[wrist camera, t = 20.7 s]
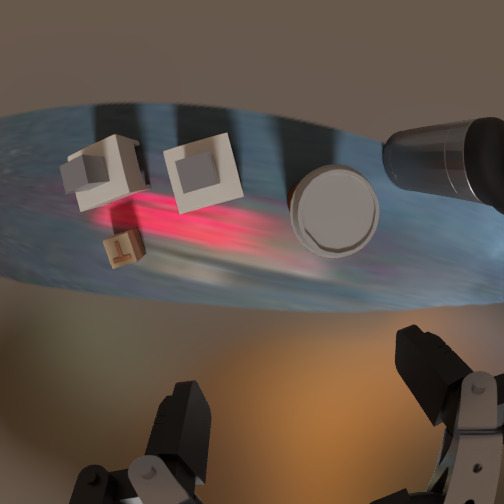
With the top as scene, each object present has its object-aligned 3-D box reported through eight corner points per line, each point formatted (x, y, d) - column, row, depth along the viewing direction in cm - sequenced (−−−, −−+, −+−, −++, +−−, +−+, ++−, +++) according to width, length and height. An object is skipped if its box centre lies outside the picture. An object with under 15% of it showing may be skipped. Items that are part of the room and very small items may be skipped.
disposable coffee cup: (268, 175, 36) (282, 174, 24) (335, 161, 36) (374, 157, 24) (283, 243, 39) (303, 272, 27) (347, 227, 38) (387, 248, 27)
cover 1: (138, 141, 34) (94, 128, 21) (150, 188, 36) (110, 196, 23) (96, 158, 34) (43, 156, 21) (108, 204, 36) (57, 218, 23)
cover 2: (229, 141, 35) (225, 123, 22) (242, 192, 36) (245, 200, 24) (178, 156, 35) (148, 147, 22) (191, 206, 37) (168, 221, 24)
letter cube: (137, 226, 37) (126, 232, 33) (146, 253, 38) (136, 261, 34) (114, 234, 37) (102, 241, 33) (123, 260, 38) (112, 269, 34)
